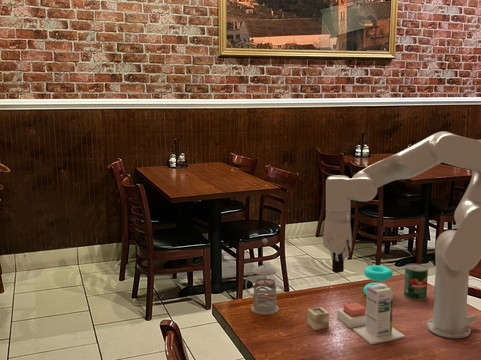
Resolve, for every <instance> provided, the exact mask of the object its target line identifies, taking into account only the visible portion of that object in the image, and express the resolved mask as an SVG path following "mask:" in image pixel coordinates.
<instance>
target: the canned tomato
mask: <svg viewBox="0 0 481 360" xmlns="http://www.w3.org/2000/svg"><path fill="white" fill-rule="evenodd" d="M428 272H429V268H428V266H427V265H424V264H419V263H408V264H405V266H404V282H403V283H404V285H403V286H404V288H403V289H404V290H403V297H405V298H406V299H409V300H413V301H414V300H415V301H422V300H426V299H427V293H428V277H429V275H428Z"/></svg>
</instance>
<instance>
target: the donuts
mask: <svg viewBox="0 0 481 360" xmlns="http://www.w3.org/2000/svg"><path fill="white" fill-rule="evenodd" d="M363 272H364V276H365V277H366V278H367V279H369V280H372V281H376V282H370V283H367V284H366V285H365V286H364V288H363V293H364V294H365V295H366V296H367V286H372V285H377V284H381V282H384V281H385V282H386V281H388V280H390V279H391V278H392V276H393V271H392V269H391V268H389V267H387V266H385V265H379V264H378V265H377V264H376V265H375V264H374V265H368V266H367V267H365V268H364V271H363Z"/></svg>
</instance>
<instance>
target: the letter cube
mask: <svg viewBox="0 0 481 360" xmlns="http://www.w3.org/2000/svg"><path fill="white" fill-rule="evenodd" d="M306 312H307V314H306V315H307V317H306V319H307V321H306V322H307V325H308V326H309V327H310V328H312V330H313V331H316V330H317V331H318V330H322V329H328V328H329V325H330V322H329V321H330V320H329V319H330V313H329V311H327V310H326V309H325V308H323V307H322V306H320V307H313V308H308V309H307V311H306Z"/></svg>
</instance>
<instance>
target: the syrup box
mask: <svg viewBox="0 0 481 360" xmlns="http://www.w3.org/2000/svg"><path fill="white" fill-rule="evenodd" d="M380 283H381V282H380ZM393 300H394V289H393V288H392V287H390V286H389V285H387V284H385V283H381V284H377V285H372V286H367V295H366V305H365V306H366V307H365V308H366V325H365V326H366V330H368V331H369V332H370V333H372V334H373V335H375V336H376V337H378V336H381V335H386V334H391V333H392V327H393Z"/></svg>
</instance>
